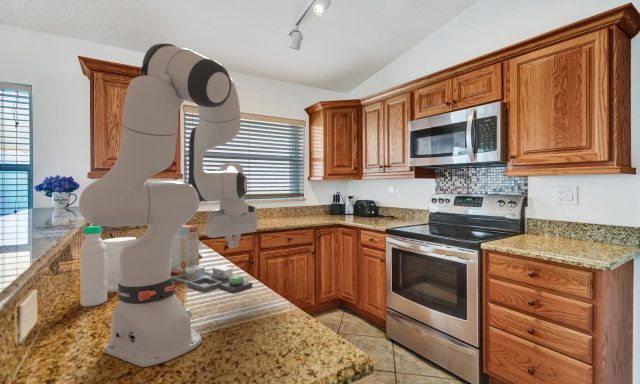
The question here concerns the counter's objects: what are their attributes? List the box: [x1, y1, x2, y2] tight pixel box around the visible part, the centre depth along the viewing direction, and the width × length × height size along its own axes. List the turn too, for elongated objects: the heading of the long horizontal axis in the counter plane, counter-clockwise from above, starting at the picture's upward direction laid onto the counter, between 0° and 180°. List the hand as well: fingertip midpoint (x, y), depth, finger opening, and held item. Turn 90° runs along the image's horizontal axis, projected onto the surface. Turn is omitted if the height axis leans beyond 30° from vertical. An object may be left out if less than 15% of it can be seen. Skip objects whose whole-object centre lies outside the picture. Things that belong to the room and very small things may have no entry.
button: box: [229, 275, 244, 285], centre depth 112 cm, size 5×5×4 cm
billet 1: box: [185, 265, 206, 281], centre depth 125 cm, size 7×4×5 cm, turn 52°
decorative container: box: [102, 236, 137, 293], centre depth 118 cm, size 12×12×18 cm
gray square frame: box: [172, 270, 213, 285], centre depth 125 cm, size 12×12×2 cm
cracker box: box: [171, 224, 200, 275], centre depth 135 cm, size 14×6×21 cm, turn 58°
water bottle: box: [78, 225, 108, 308], centre depth 101 cm, size 7×7×25 cm
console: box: [219, 280, 253, 293], centre depth 112 cm, size 8×8×2 cm
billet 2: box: [212, 265, 234, 281], centre depth 120 cm, size 7×4×5 cm, turn 52°
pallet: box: [186, 275, 229, 293], centre depth 117 cm, size 11×15×3 cm
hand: (233, 247), depth 112 cm, fingers closed
